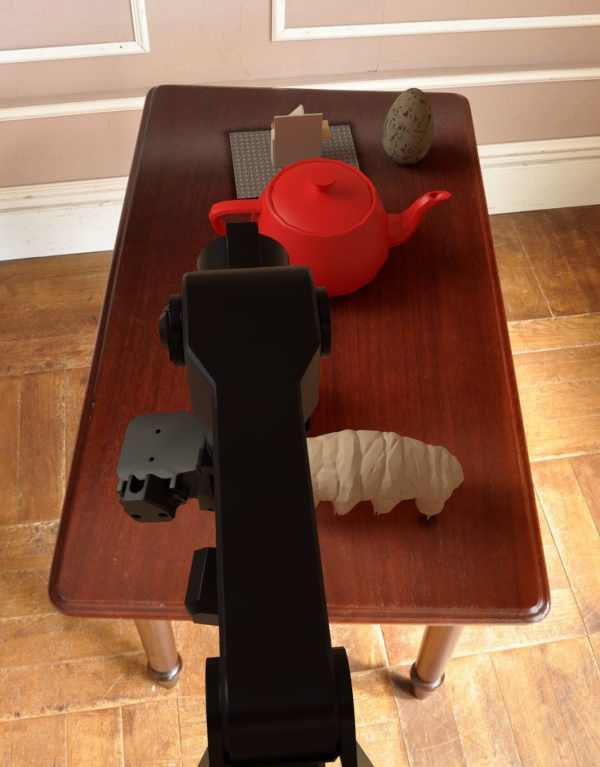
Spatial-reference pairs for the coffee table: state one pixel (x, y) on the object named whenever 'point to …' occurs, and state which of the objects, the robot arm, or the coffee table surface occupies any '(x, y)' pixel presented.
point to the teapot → (329, 221)
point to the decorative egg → (408, 128)
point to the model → (381, 471)
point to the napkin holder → (286, 149)
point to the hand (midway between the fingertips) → (258, 533)
